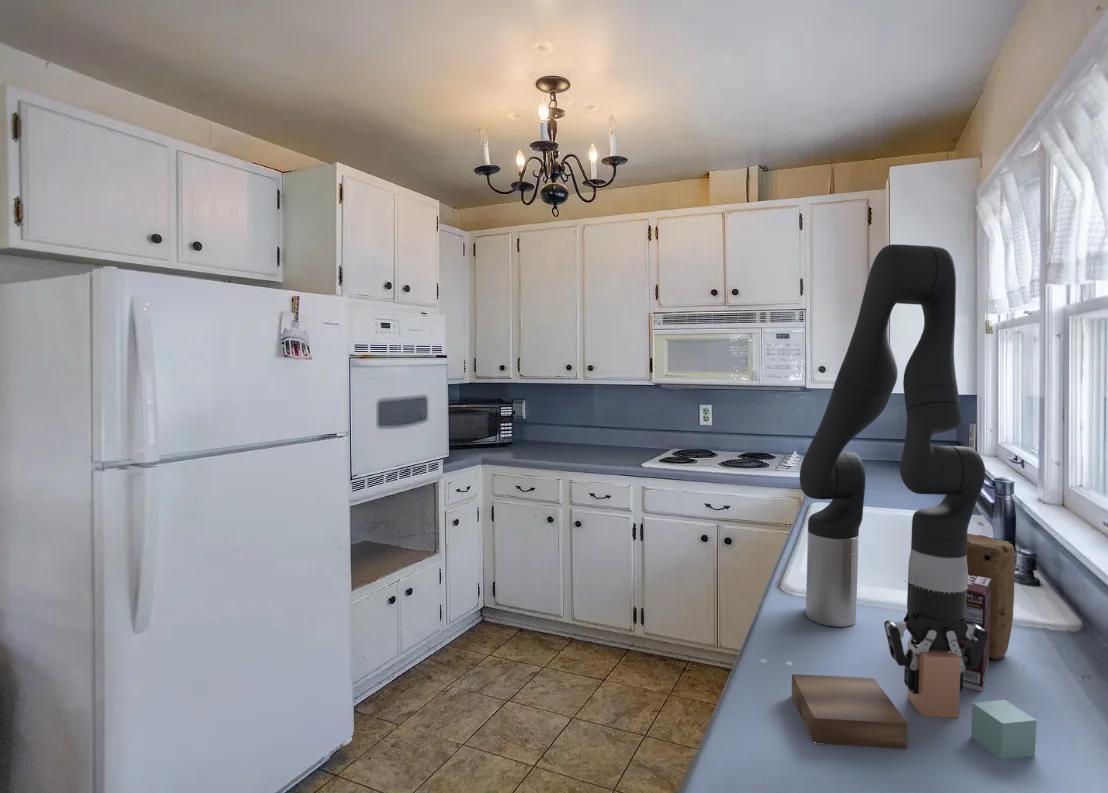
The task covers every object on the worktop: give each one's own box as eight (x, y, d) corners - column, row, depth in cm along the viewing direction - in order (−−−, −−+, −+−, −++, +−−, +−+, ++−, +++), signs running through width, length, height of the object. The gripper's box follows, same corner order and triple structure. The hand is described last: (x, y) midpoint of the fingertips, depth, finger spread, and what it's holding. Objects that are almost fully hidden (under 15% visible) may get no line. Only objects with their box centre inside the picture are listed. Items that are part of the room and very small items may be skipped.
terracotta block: (907, 697, 100) (909, 640, 99) (941, 699, 99) (944, 642, 99) (921, 716, 95) (924, 656, 94) (958, 718, 94) (961, 658, 94)
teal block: (971, 737, 90) (972, 702, 89) (1003, 734, 90) (1004, 699, 90) (1001, 760, 85) (1002, 723, 84) (1034, 756, 86) (1036, 720, 85)
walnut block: (791, 699, 100) (792, 674, 100) (873, 703, 99) (873, 678, 99) (813, 746, 88) (814, 718, 88) (906, 752, 87) (907, 723, 87)
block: (1015, 653, 114) (1020, 541, 113) (999, 666, 110) (1004, 549, 108) (947, 632, 123) (952, 528, 121) (930, 643, 118) (934, 535, 117)
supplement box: (955, 662, 111) (959, 571, 110) (989, 671, 108) (993, 578, 107) (946, 683, 104) (950, 586, 103) (982, 693, 101) (987, 593, 100)
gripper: (975, 573, 99) (970, 682, 100) (876, 570, 100) (872, 677, 101) (1003, 592, 91) (998, 709, 92) (896, 588, 93) (892, 703, 94)
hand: (932, 691), depth 97 cm, fingers closed on terracotta block, 5 cm apart
